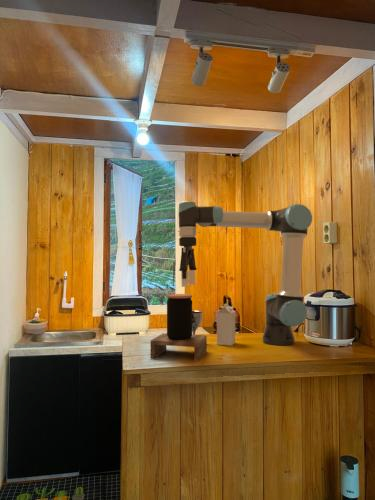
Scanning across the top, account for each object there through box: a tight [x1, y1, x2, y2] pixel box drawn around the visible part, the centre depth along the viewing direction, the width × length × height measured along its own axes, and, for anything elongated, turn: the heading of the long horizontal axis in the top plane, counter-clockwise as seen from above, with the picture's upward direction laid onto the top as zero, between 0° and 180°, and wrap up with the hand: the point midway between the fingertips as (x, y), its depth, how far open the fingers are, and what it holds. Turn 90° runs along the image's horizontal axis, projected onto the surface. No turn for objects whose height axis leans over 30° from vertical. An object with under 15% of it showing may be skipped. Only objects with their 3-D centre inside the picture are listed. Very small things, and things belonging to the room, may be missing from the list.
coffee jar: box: [166, 293, 193, 340], centre depth 157 cm, size 11×11×18 cm
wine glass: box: [192, 310, 203, 335], centre depth 177 cm, size 8×8×15 cm
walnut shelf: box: [149, 332, 208, 362], centre depth 156 cm, size 20×16×7 cm
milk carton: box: [216, 302, 236, 347], centre depth 177 cm, size 7×7×19 cm
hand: (188, 285), depth 162 cm, fingers open, 13 cm apart
